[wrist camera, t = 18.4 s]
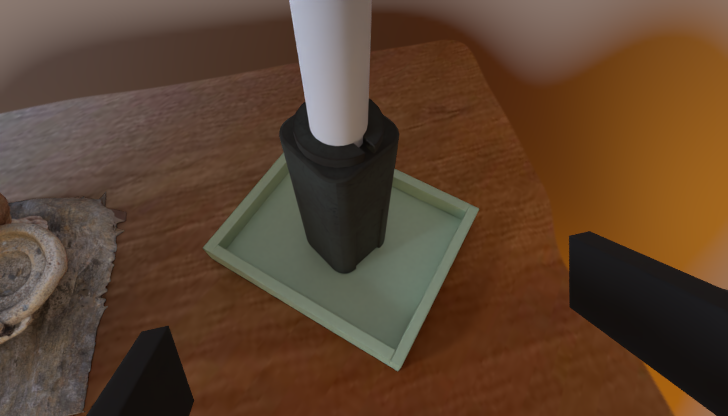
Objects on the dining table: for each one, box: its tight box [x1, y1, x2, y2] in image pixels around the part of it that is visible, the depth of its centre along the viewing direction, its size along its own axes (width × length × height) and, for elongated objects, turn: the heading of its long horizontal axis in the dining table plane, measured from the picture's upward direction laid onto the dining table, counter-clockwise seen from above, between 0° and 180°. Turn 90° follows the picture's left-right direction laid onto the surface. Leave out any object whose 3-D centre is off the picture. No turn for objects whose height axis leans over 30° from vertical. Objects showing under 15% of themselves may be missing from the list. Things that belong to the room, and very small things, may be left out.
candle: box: [279, 0, 399, 274], centre depth 20 cm, size 5×5×25 cm
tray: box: [203, 153, 479, 371], centre depth 31 cm, size 17×14×2 cm
